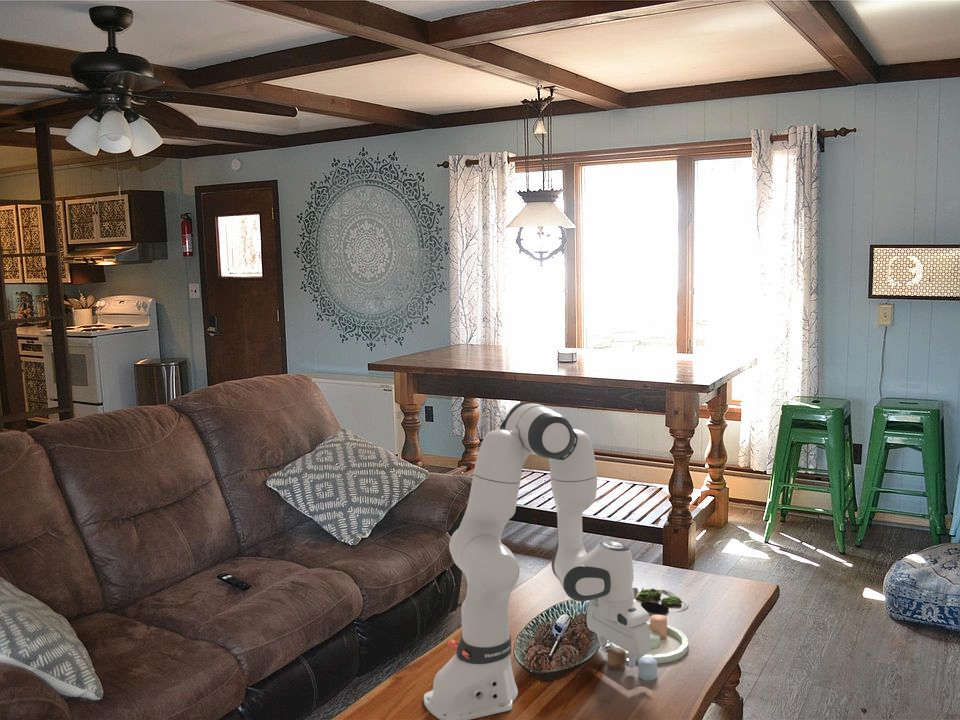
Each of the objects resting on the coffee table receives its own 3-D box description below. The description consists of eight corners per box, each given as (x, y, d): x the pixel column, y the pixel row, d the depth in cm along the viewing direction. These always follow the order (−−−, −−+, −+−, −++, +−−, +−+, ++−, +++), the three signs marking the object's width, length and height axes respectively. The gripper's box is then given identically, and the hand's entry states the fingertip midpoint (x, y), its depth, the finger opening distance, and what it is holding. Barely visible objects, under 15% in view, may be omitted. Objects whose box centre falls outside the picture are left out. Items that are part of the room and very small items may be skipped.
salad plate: (609, 597, 254) (608, 583, 253) (662, 588, 259) (662, 574, 258) (639, 624, 235) (639, 608, 235) (696, 614, 241) (696, 598, 240)
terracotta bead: (658, 641, 222) (658, 623, 221) (646, 635, 225) (646, 617, 225) (670, 637, 224) (670, 619, 223) (659, 630, 228) (659, 613, 227)
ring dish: (645, 675, 207) (645, 661, 206) (593, 644, 224) (593, 631, 223) (704, 653, 217) (704, 640, 216) (650, 624, 234) (650, 612, 234)
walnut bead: (615, 676, 207) (615, 657, 206) (604, 669, 211) (603, 650, 210) (629, 671, 209) (629, 652, 208) (617, 664, 213) (617, 645, 212)
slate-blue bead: (647, 687, 202) (646, 667, 201) (634, 679, 205) (634, 660, 205) (660, 681, 204) (660, 662, 203) (648, 674, 208) (648, 655, 207)
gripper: (579, 595, 215) (581, 646, 217) (634, 624, 198) (635, 679, 200) (599, 589, 219) (600, 639, 221) (654, 616, 201) (655, 671, 203)
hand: (617, 658), depth 210 cm, fingers open, 8 cm apart
